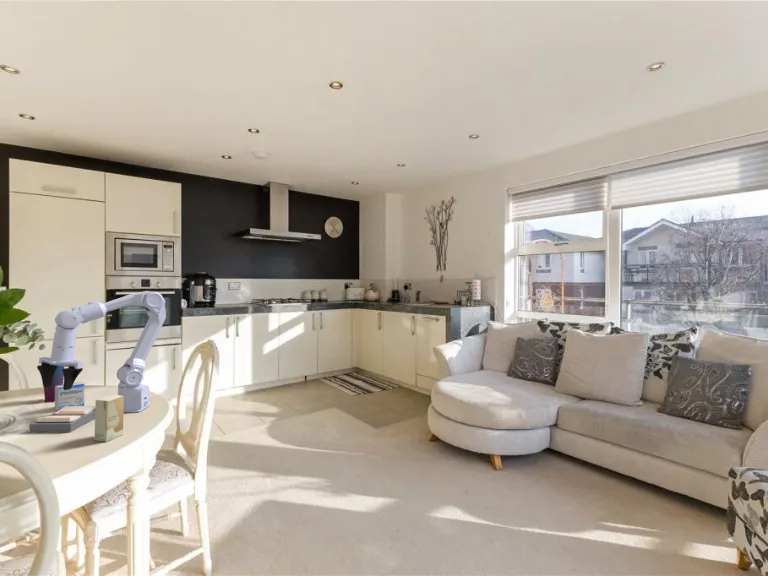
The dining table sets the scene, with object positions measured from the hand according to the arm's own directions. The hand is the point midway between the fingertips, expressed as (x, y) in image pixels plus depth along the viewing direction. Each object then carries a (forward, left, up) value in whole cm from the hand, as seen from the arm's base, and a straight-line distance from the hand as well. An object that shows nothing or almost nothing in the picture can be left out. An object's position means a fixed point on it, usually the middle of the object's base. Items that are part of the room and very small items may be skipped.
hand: (57, 388), depth 128 cm
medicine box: (+7, -16, -12) cm, 21 cm away
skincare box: (-23, +12, -12) cm, 29 cm away
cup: (+19, -25, -12) cm, 33 cm away
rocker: (-3, +4, -9) cm, 10 cm away
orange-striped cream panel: (-3, -4, -9) cm, 10 cm away
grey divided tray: (-3, 0, -12) cm, 12 cm away
